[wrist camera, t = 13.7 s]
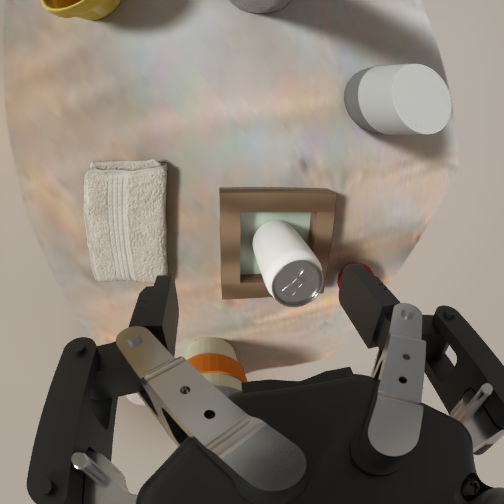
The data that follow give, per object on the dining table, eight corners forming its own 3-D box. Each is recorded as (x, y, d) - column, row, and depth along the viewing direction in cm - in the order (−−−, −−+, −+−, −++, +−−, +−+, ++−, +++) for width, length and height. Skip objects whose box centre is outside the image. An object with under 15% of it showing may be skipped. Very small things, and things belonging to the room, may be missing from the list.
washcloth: (169, 156, 35) (165, 158, 32) (171, 278, 42) (169, 289, 39) (88, 160, 33) (79, 163, 30) (100, 276, 40) (93, 286, 37)
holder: (219, 187, 37) (220, 193, 34) (326, 188, 39) (336, 194, 36) (221, 286, 43) (222, 299, 40) (316, 281, 45) (323, 293, 42)
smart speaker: (348, 60, 31) (406, 39, 19) (398, 89, 34) (463, 86, 21) (329, 116, 35) (385, 115, 22) (381, 142, 37) (445, 155, 24)
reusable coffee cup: (243, 376, 52) (254, 440, 39) (179, 377, 50) (176, 442, 37) (246, 328, 47) (260, 398, 33) (172, 329, 45) (163, 400, 32)
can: (306, 238, 40) (338, 279, 30) (275, 270, 42) (297, 319, 31) (273, 209, 38) (299, 244, 27) (242, 244, 40) (254, 290, 29)
